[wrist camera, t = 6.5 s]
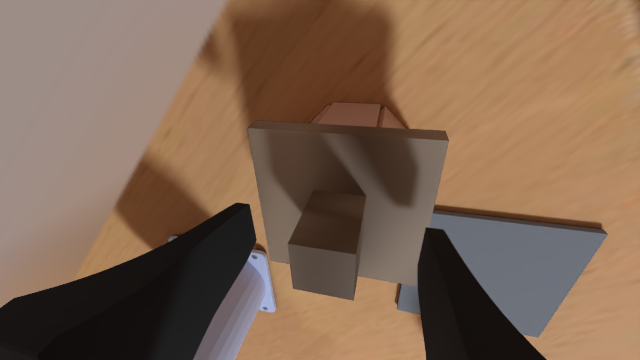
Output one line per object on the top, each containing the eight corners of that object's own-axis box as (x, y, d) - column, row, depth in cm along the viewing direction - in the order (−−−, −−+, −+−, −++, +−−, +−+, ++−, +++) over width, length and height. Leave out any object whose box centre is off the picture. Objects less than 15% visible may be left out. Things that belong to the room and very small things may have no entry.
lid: (276, 248, 17) (241, 316, 13) (257, 120, 13) (197, 166, 9) (415, 271, 15) (420, 357, 11) (445, 130, 11) (469, 193, 7)
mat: (397, 305, 23) (397, 309, 22) (415, 207, 17) (415, 211, 17) (535, 332, 20) (538, 337, 20) (603, 229, 15) (608, 234, 15)
